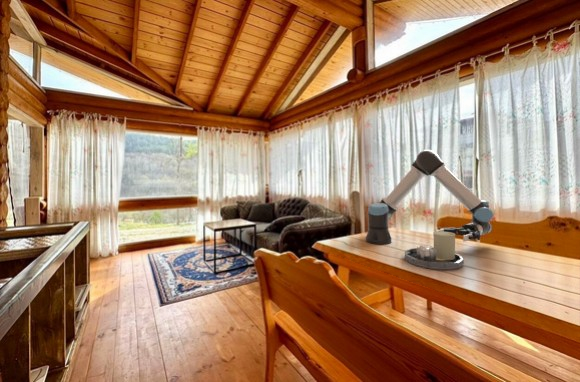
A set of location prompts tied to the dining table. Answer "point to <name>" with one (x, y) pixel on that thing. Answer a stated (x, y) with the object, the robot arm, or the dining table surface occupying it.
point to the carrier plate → (431, 259)
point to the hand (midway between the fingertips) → (449, 235)
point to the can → (444, 245)
